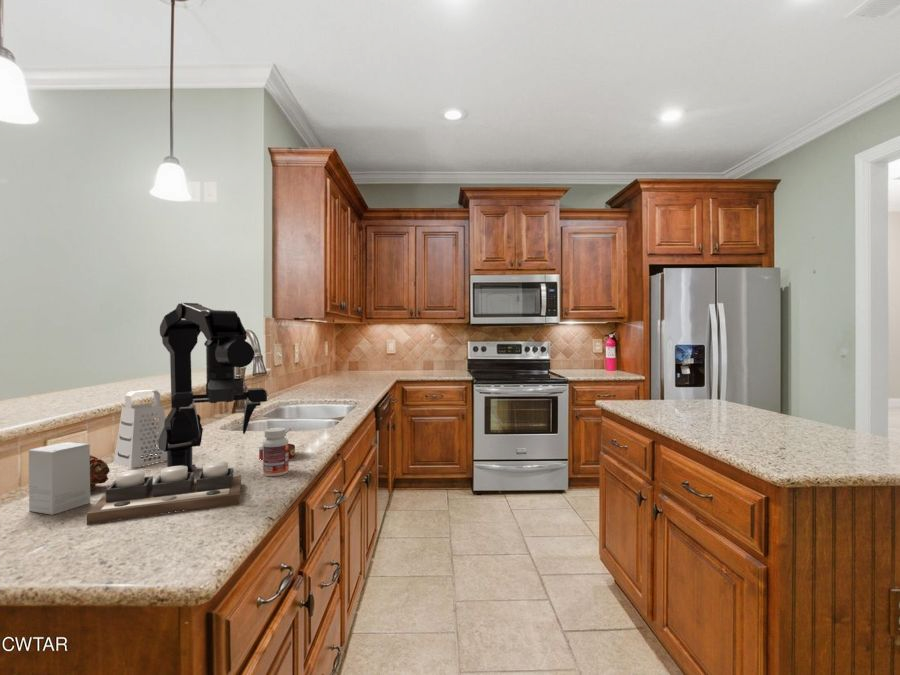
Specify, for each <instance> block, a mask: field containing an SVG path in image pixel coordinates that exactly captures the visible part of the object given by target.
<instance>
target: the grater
mask: <svg viewBox="0 0 900 675" xmlns="http://www.w3.org/2000/svg"><path fill="white" fill-rule="evenodd" d="M143 392H152V393H153V403H143V404H135V405H132V396H134V394H135V393H143ZM124 404H125V405H124V406H121V413H120V417H119V418H120V419H119V424H118V425H119V426H118V432H117V438H116V443H115V444H116V445H115V452H114V456H113V457H114V458H113V464H114V465H117V466H120V465H121V466H120V467H123V466H125V467H124V468H126V467H128V468H127V469H129V468H134V467H139V466H143V465H148V464H152V463H156V462H161V461H166V460H167V452H164V451H162V450H160V449H159V444H158V440H159V438H160V435H161V433H162V430H163V428H164V422H165V419H166V418H167V417H166V413H165V406H164V404H163V405H162V404H161V392H159V391H158V390H157V389H143V390H132V391H128V392H127V393H126V394H125V395H124ZM157 432H158V433H157ZM168 445H169V444H168ZM150 454H154V455H152V456H150ZM155 454H157V455H155ZM146 455H149V456H147V457H146ZM141 456H144V457H142V458H141ZM159 456H161V457H160V458H159ZM154 458H155V459H154ZM149 459H151V460H149ZM145 460H146V461H145ZM166 462H167V461H166ZM161 463H162V462H161ZM152 465H153V464H152ZM148 466H149V465H148ZM143 467H144V466H143ZM139 468H140V467H139ZM134 469H135V468H134Z"/></svg>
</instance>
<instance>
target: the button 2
mask: <svg viewBox="0 0 900 675" xmlns="http://www.w3.org/2000/svg"><path fill="white" fill-rule="evenodd" d="M228 468H229V462H227V461H214V462H213V461H212V462H208V463H205V464H203V465H202V471H203V478H213V477H222V476H227V475H228Z"/></svg>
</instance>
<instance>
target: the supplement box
mask: <svg viewBox="0 0 900 675" xmlns="http://www.w3.org/2000/svg"><path fill="white" fill-rule="evenodd" d="M90 446H91V445H90V443H81V442H80V443H79V442H71V441H70V442H68V441H67V442H60V443H54V444H49V445H46V446H40V447H34V448H31V449H28V495H29V496H28V502H29V503H28V506H29V507H28V510H29V512H34V513H40V514H46V515H50V516H51V515H52V516H53V515H56V514H60V513H63V512H66V511H69V510H72V509H73V510H74V509H76V508H79V507H82V506H86V505H87V504H90V503H91V490H90V455H91V452H90V451H91V448H90Z"/></svg>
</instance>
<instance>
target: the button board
mask: <svg viewBox="0 0 900 675" xmlns="http://www.w3.org/2000/svg"><path fill="white" fill-rule="evenodd" d="M153 477H154V476H145V483H144V484H143V485H140V486H131V487H122V488H116V479H115V480H114V481H113V482H112V483H111V484H110V485H109V486H108V487H107V488H106V489H105V494H104V495H103V496H102V497H100V499H99V500H98V501H96V503H95V504H94V505H93V506H92V507H91V509H89V510H88V512H87V513H86V525H90V524H91V525H92V524H97V523H99V524H100V523H106V522H112V521H113V520H115V521H120V520H119V519H122V520H129V519H128V518H130V519H135V518H134V517H137V518H143V517H142V516H145V517H150V516H149V515H152V516H157V515H156V514H160V515H162V514H161V513H167V514H169V513H168V512H175V511H182V512H184V511H183V510H190V511H194V510H193V509H197V510H203V509H202V508H205V509H210V508H209V507H212V508H218V506H220V507H225V506H233V505H239V504H240V497H241V489H242V476H241V475H236V476H234V467H228V475H227V476H222V477H213V478H203V470H200V471H199V473H198V475H197V478H196V480H195V471H193V472H189V473H188V479H187V480H185V481H176V482H167V483H161V474H160V475H158V477H157V478H156V479H155V481H153V480H154V478H153ZM175 513H176V512H175Z"/></svg>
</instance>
